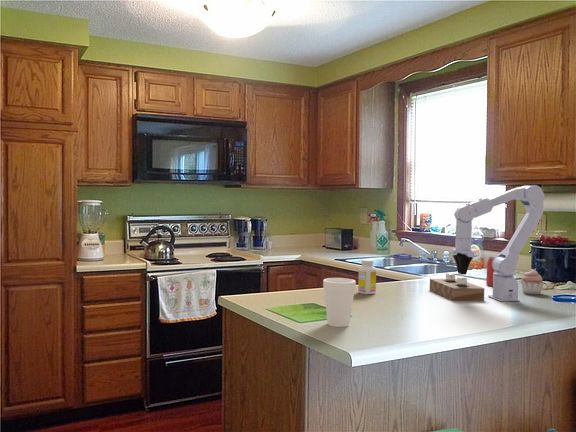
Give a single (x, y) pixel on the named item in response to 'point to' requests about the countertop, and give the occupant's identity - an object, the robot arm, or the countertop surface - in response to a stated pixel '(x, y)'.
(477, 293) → the walnut block
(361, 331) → the countertop surface
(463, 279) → the peg near
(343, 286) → the foam cup
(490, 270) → the beer can
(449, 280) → the peg far
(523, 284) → the cupcake
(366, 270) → the supplement bottle
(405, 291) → the countertop surface
